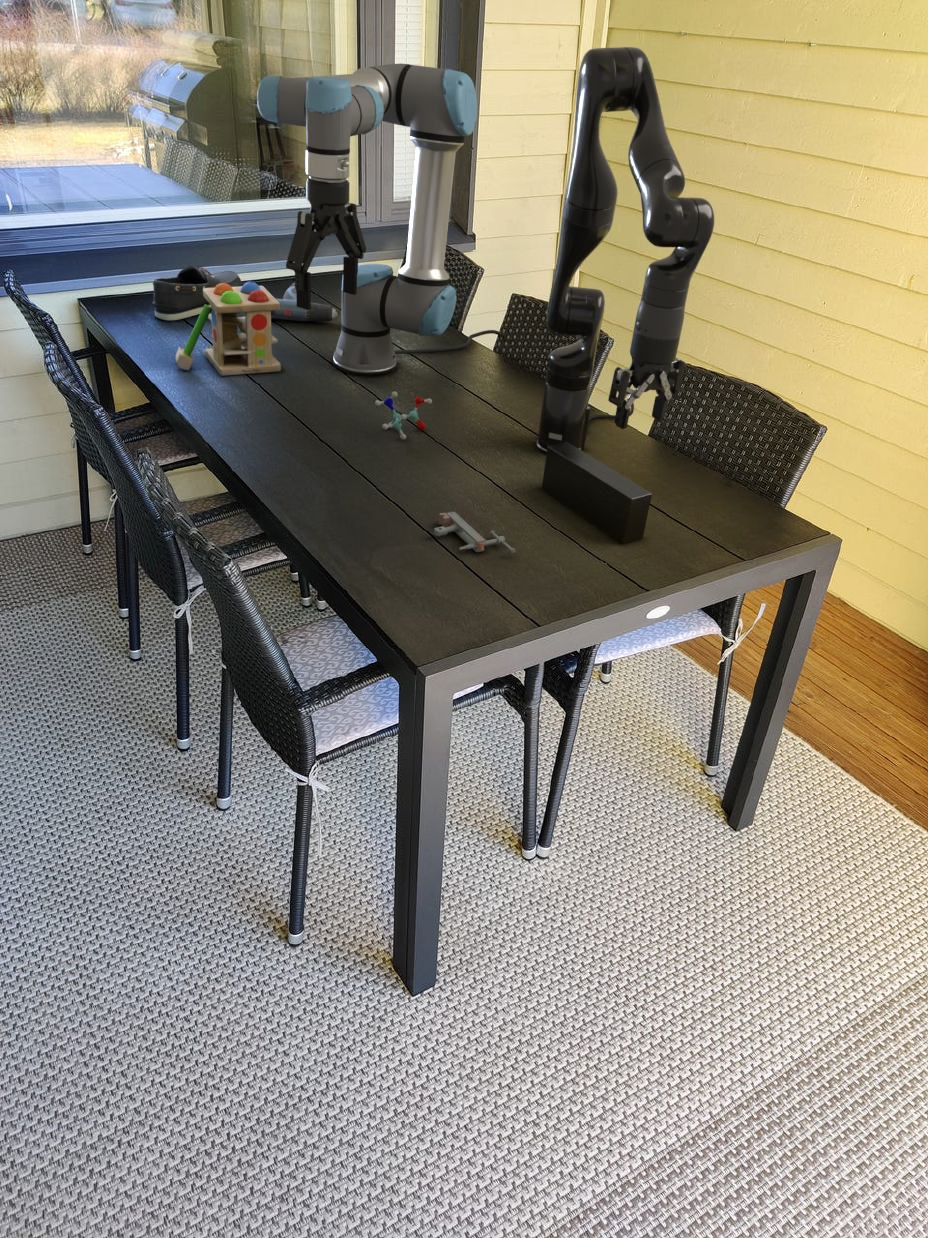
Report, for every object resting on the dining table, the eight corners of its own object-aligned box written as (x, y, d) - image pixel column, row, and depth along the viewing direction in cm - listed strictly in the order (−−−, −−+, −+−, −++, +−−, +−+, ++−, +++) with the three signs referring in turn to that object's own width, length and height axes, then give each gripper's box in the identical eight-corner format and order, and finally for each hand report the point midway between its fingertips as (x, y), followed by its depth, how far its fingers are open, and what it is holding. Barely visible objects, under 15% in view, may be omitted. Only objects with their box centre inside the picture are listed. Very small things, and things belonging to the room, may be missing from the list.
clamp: (424, 515, 172) (473, 506, 177) (423, 526, 174) (472, 516, 178) (467, 556, 162) (517, 545, 167) (465, 568, 163) (516, 556, 168)
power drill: (344, 304, 276) (335, 327, 259) (277, 298, 275) (264, 321, 258) (344, 285, 273) (335, 306, 256) (277, 279, 272) (264, 300, 255)
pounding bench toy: (183, 379, 220) (176, 299, 210) (169, 357, 231) (162, 280, 221) (282, 371, 230) (280, 294, 220) (264, 350, 240) (262, 276, 230)
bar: (541, 489, 190) (547, 446, 185) (560, 484, 193) (567, 441, 188) (622, 544, 175) (632, 499, 170) (642, 538, 177) (652, 493, 172)
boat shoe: (260, 299, 274) (258, 261, 269) (172, 322, 251) (168, 281, 245) (227, 291, 280) (224, 253, 275) (137, 313, 256) (132, 272, 251)
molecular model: (422, 431, 199) (406, 384, 197) (382, 446, 202) (366, 399, 201) (442, 428, 209) (426, 382, 208) (403, 442, 213) (388, 397, 212)
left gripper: (297, 190, 161) (299, 319, 173) (387, 173, 179) (383, 291, 191) (263, 182, 164) (266, 309, 176) (354, 166, 182) (352, 282, 194)
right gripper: (641, 342, 152) (623, 439, 161) (705, 331, 159) (684, 423, 168) (609, 327, 157) (593, 421, 166) (672, 316, 164) (654, 407, 173)
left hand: (327, 300), depth 183 cm, fingers open, 13 cm apart
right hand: (639, 422), depth 167 cm, fingers open, 8 cm apart
